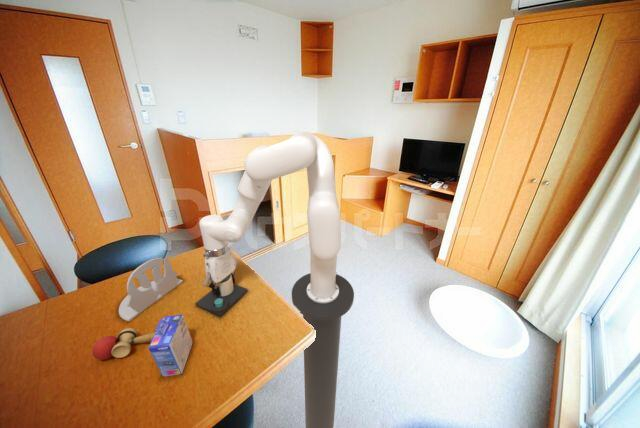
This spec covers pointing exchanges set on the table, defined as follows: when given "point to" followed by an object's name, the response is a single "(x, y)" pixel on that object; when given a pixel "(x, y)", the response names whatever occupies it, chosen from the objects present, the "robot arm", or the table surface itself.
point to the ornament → (147, 287)
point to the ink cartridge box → (171, 345)
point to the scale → (229, 301)
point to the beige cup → (226, 286)
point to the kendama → (119, 344)
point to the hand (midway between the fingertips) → (224, 288)
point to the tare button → (219, 303)
